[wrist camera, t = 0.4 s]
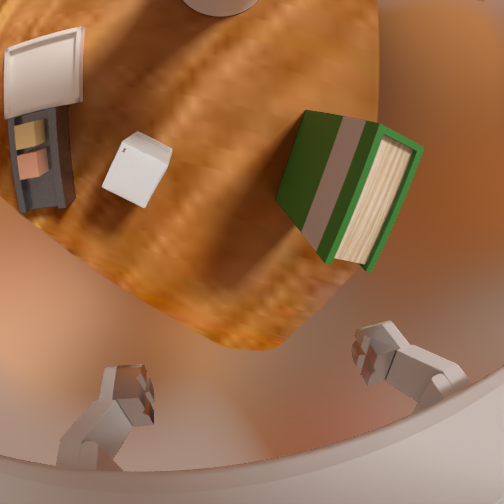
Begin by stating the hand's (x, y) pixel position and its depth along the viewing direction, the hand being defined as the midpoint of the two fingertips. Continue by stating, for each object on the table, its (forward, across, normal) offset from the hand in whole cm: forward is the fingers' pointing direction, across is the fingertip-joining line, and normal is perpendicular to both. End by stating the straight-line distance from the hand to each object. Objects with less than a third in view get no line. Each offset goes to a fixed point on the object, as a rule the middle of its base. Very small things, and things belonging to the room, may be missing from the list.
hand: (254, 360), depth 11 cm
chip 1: (+42, +28, -9) cm, 51 cm away
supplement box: (+46, +10, 0) cm, 47 cm away
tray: (+46, +27, -20) cm, 57 cm away
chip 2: (+42, +29, -4) cm, 51 cm away
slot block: (+46, +29, -4) cm, 54 cm away
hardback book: (+46, -19, +4) cm, 50 cm away
